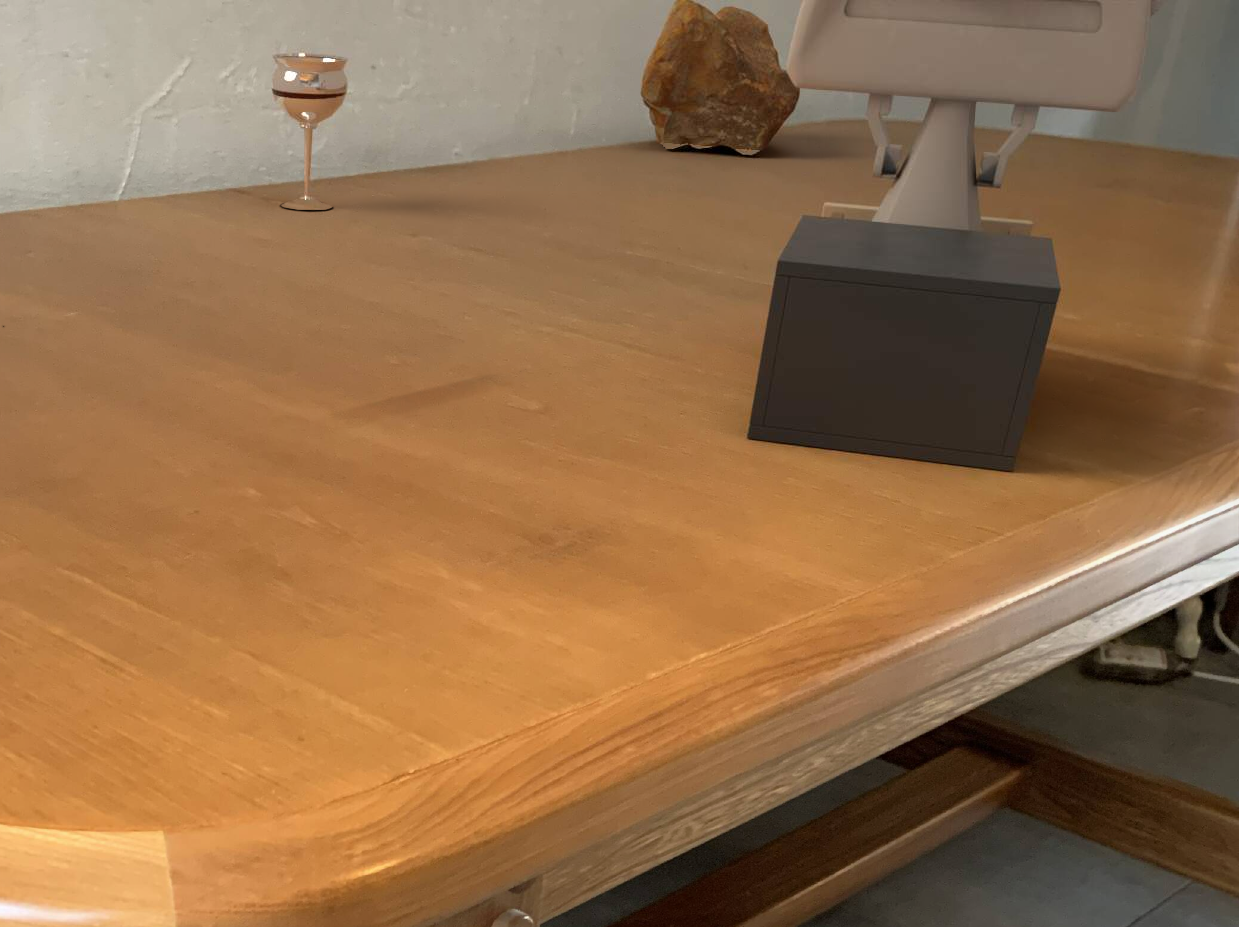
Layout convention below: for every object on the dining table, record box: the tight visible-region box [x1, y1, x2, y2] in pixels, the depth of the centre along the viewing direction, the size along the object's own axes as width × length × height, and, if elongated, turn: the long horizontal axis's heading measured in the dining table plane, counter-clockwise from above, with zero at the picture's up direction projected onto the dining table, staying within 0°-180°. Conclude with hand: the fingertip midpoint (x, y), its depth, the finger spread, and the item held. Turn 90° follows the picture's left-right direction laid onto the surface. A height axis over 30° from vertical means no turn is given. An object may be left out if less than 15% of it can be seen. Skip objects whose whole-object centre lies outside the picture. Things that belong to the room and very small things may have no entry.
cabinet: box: [746, 214, 1062, 473], centre depth 98 cm, size 16×15×10 cm
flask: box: [872, 98, 982, 232], centre depth 104 cm, size 7×7×10 cm
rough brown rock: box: [640, 0, 801, 150], centre depth 193 cm, size 23×17×15 cm
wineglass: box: [271, 52, 349, 200], centre depth 151 cm, size 7×7×12 cm
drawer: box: [821, 201, 1034, 236], centre depth 110 cm, size 19×13×8 cm
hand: (935, 181), depth 104 cm, fingers closed on flask, 5 cm apart
